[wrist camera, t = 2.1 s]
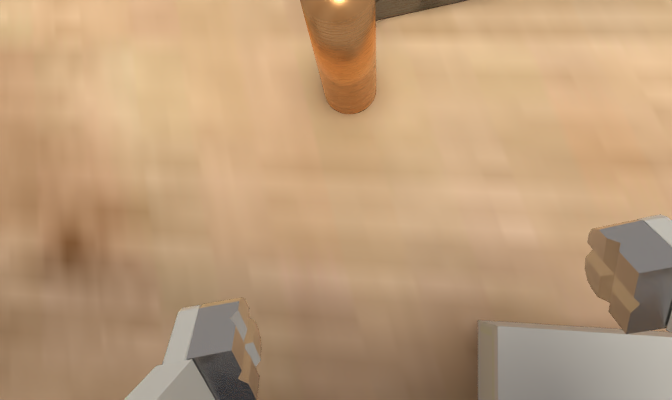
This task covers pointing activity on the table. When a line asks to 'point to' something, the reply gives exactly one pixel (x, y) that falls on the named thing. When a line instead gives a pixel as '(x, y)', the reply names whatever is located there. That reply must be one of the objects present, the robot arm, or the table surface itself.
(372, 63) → the copper pin
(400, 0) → the metal clamp fixture
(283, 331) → the table surface
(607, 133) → the table surface
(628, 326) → the robot arm
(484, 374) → the disc drive
